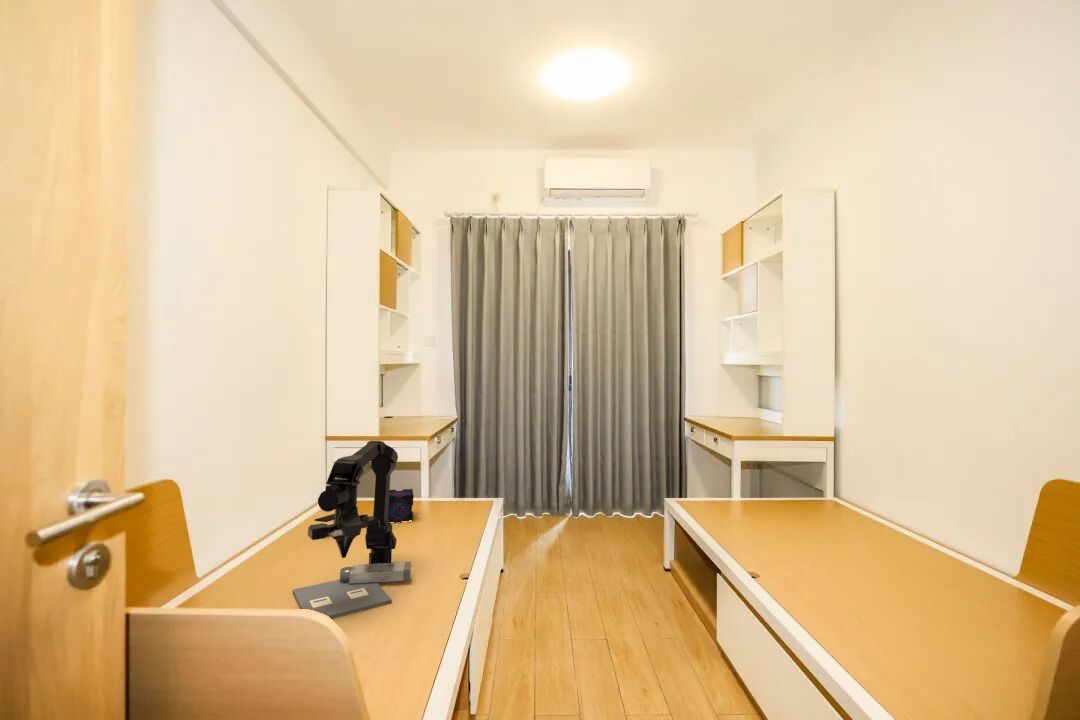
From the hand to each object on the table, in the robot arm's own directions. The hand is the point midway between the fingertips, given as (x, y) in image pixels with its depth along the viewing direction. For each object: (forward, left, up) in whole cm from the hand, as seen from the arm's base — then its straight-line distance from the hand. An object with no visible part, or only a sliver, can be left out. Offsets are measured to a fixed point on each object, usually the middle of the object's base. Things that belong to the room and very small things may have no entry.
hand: (343, 557), depth 138 cm
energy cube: (-42, -68, -13) cm, 81 cm away
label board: (0, -2, -12) cm, 13 cm away
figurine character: (-13, -64, -13) cm, 67 cm away
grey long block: (-12, -8, -11) cm, 18 cm away
